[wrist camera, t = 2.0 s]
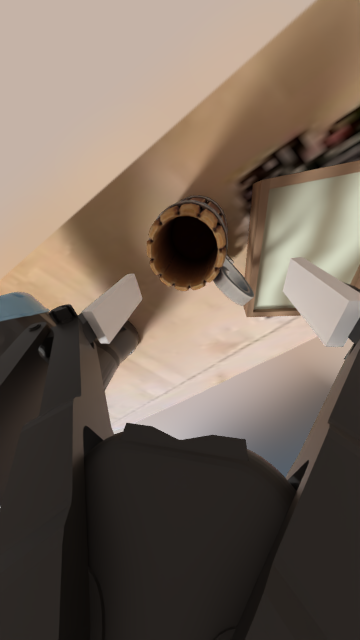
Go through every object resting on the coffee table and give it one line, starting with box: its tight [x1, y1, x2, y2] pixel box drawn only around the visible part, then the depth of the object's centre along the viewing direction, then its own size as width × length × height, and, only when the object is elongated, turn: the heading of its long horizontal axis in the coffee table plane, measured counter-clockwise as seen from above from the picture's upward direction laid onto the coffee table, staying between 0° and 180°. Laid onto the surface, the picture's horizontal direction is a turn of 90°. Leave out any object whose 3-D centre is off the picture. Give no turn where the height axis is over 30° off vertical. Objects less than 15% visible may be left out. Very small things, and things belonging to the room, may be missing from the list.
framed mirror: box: [243, 160, 360, 317], centre depth 25 cm, size 16×20×5 cm
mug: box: [146, 195, 254, 306], centre depth 23 cm, size 16×11×15 cm
